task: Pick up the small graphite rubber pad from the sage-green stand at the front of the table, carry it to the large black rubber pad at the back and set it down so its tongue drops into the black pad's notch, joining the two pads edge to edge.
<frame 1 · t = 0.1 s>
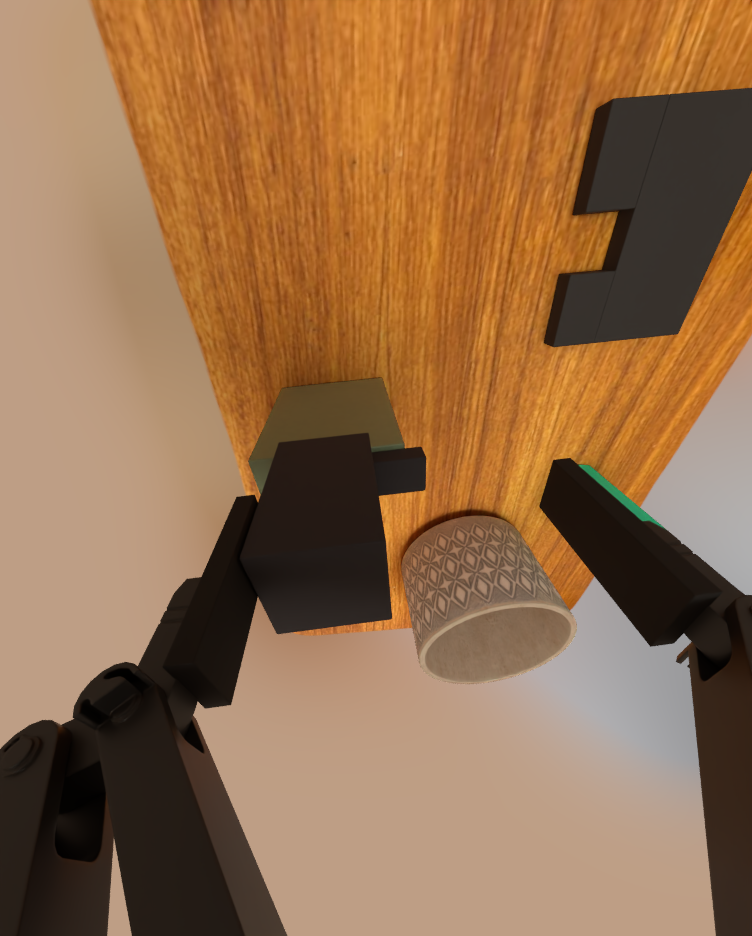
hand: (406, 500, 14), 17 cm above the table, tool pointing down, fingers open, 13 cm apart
candle: (570, 483, 37), on the table
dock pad: (635, 239, 23), on the table
planter: (458, 551, 43), on the table
stand: (334, 398, 28), on the table
tongue pad: (355, 470, 18), point 12 cm above the table, touching stand
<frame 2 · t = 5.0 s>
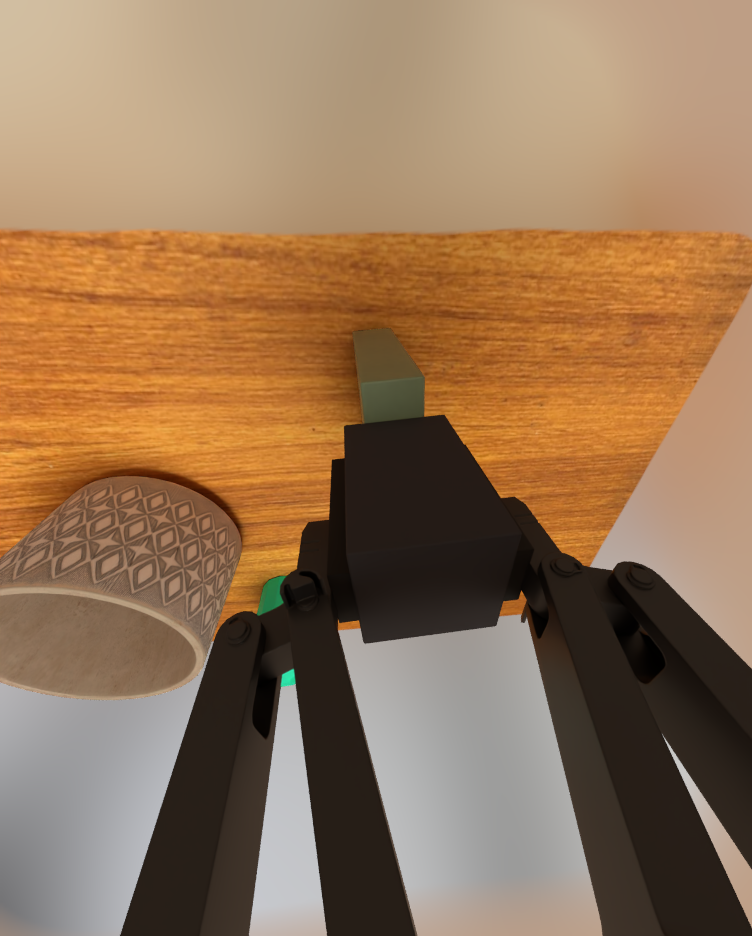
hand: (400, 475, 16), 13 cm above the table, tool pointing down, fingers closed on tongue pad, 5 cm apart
candle: (286, 588, 41), on the table
planter: (165, 528, 33), on the table
stand: (375, 385, 26), on the table
tongue pad: (397, 483, 17), point 12 cm above the table, touching gripper, stand
when the fingers open (1 cm above the table, at t = 12.6 s): tongue pad stays where it is, on the table.
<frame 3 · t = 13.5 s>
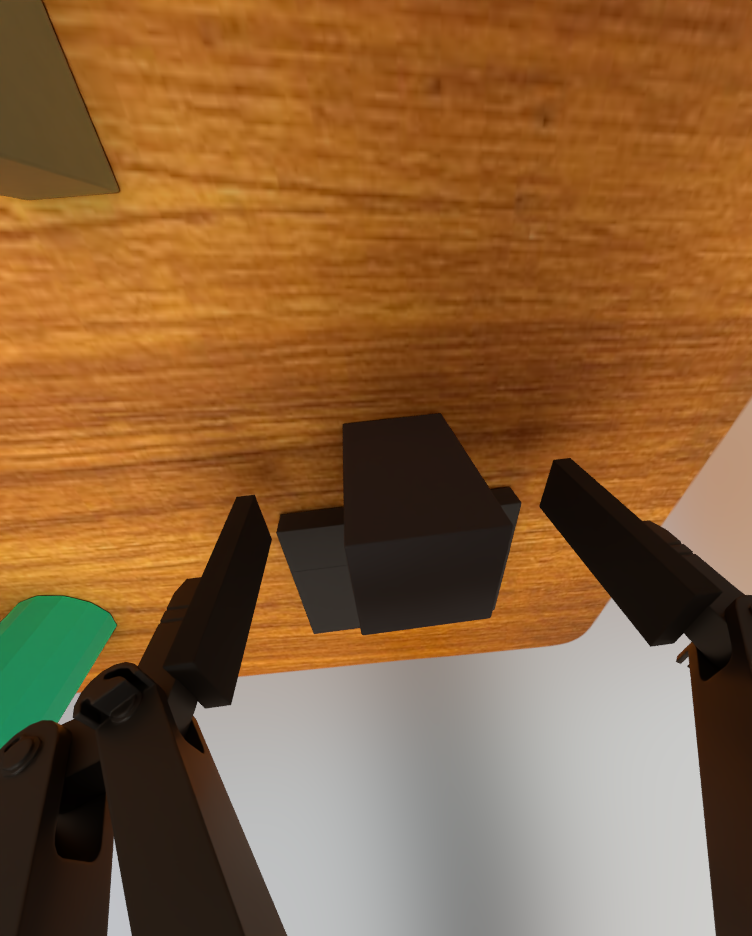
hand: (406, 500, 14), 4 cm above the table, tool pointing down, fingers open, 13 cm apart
candle: (70, 617, 22), on the table
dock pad: (399, 559, 22), on the table
tongue pad: (395, 481, 18), on the table
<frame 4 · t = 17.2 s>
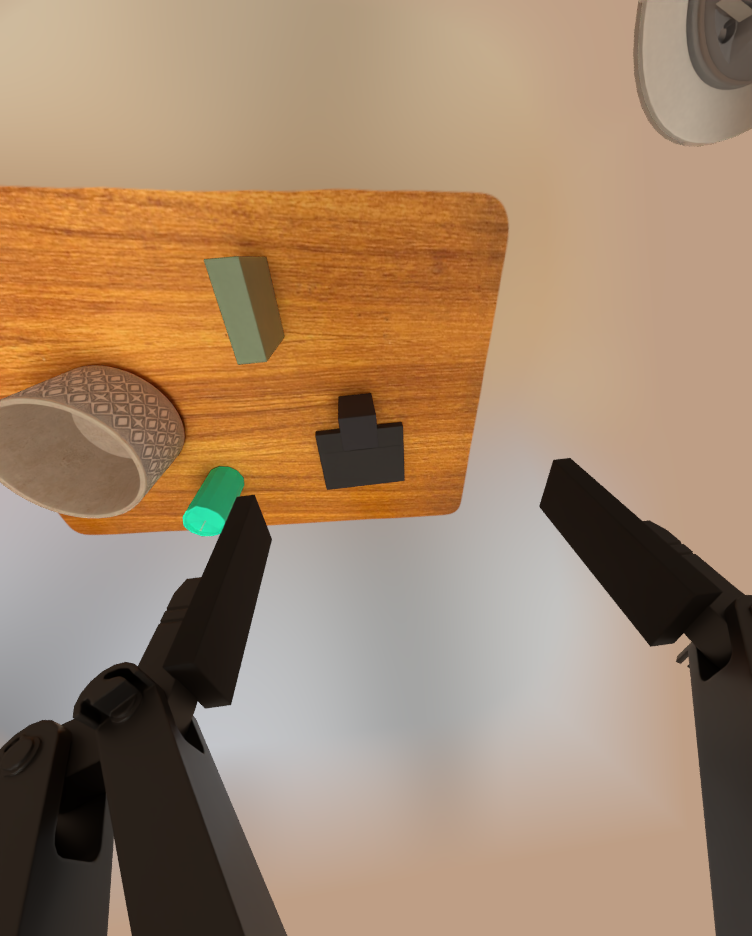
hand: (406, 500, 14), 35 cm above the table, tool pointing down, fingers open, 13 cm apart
candle: (226, 479, 54), on the table
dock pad: (362, 455, 53), on the table
planter: (128, 418, 46), on the table
stand: (264, 300, 39), on the table
tongue pad: (357, 418, 49), on the table
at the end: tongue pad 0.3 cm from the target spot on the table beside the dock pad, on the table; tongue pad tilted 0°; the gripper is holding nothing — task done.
